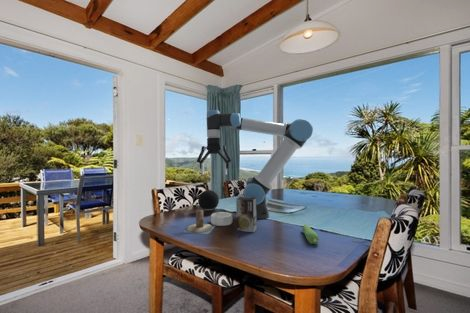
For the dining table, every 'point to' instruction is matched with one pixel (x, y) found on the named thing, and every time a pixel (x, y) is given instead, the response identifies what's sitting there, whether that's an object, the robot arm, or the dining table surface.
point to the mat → (199, 233)
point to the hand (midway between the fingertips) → (214, 174)
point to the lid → (199, 224)
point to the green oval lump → (310, 234)
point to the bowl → (221, 218)
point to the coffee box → (246, 214)
